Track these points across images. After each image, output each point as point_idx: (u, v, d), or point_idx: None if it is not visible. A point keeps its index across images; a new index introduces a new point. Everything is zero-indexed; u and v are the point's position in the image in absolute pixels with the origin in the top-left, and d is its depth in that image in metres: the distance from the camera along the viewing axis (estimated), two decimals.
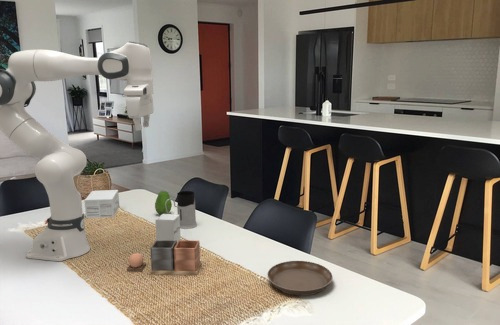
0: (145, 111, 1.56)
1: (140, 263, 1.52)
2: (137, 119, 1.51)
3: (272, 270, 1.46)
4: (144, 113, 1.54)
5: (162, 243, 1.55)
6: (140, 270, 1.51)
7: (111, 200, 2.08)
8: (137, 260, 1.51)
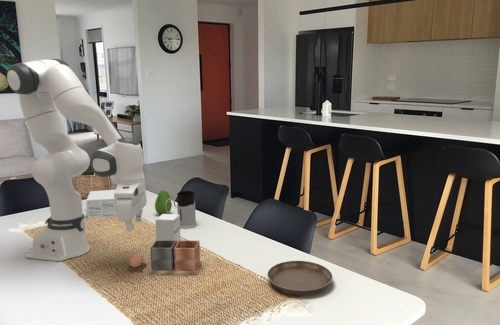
0: (138, 209, 1.48)
1: (140, 263, 1.52)
2: (128, 221, 1.43)
3: (272, 269, 1.46)
4: (136, 212, 1.47)
5: (162, 243, 1.55)
6: (140, 270, 1.51)
7: (114, 199, 2.09)
8: (137, 260, 1.51)
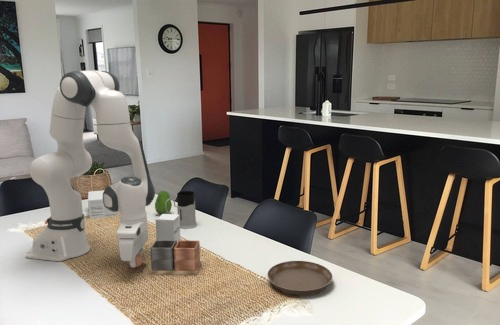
0: (139, 246, 1.51)
1: (140, 263, 1.52)
2: None
3: (272, 270, 1.46)
4: (138, 250, 1.49)
5: (162, 243, 1.55)
6: (140, 270, 1.51)
7: None
8: (137, 260, 1.51)
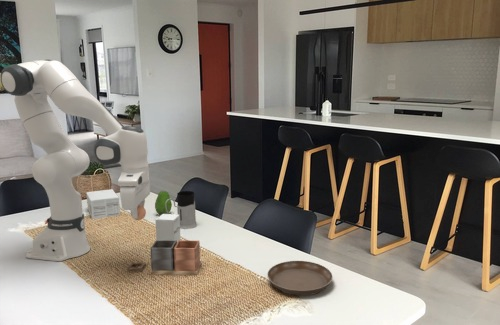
0: (141, 197, 1.47)
1: (142, 215, 1.48)
2: None
3: (272, 270, 1.46)
4: (140, 201, 1.46)
5: (162, 243, 1.55)
6: (140, 270, 1.51)
7: (118, 198, 2.11)
8: (139, 212, 1.47)
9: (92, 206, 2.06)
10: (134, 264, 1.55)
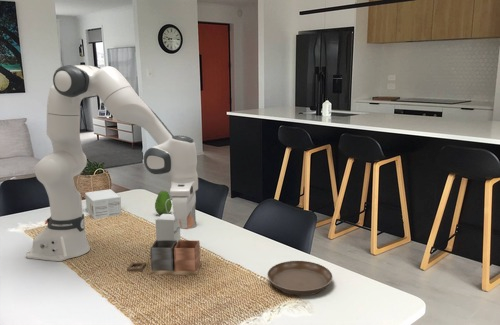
0: (190, 207, 1.48)
1: (191, 224, 1.48)
2: None
3: (272, 269, 1.46)
4: (189, 210, 1.46)
5: (162, 243, 1.55)
6: (140, 270, 1.51)
7: (119, 197, 2.12)
8: (188, 221, 1.47)
9: (94, 206, 2.06)
10: (134, 264, 1.55)
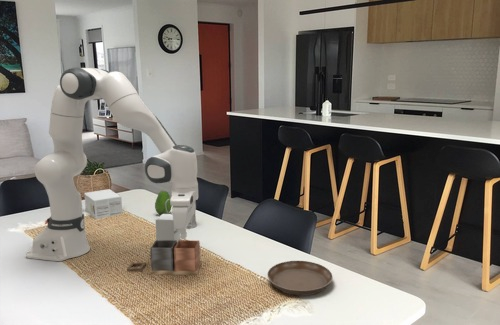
0: (190, 216, 1.48)
1: None
2: (183, 228, 1.43)
3: (272, 269, 1.46)
4: (189, 219, 1.46)
5: (162, 243, 1.55)
6: (140, 270, 1.51)
7: (120, 197, 2.12)
8: None
9: (95, 206, 2.06)
10: (134, 264, 1.55)
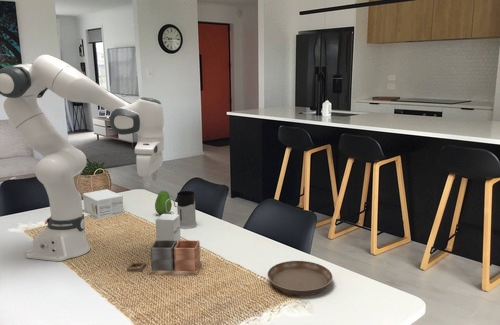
0: (155, 167, 1.54)
1: None
2: (146, 177, 1.49)
3: (272, 269, 1.46)
4: (154, 169, 1.52)
5: (162, 243, 1.55)
6: (140, 270, 1.51)
7: (122, 196, 2.14)
8: None
9: (98, 206, 2.06)
10: (134, 264, 1.55)
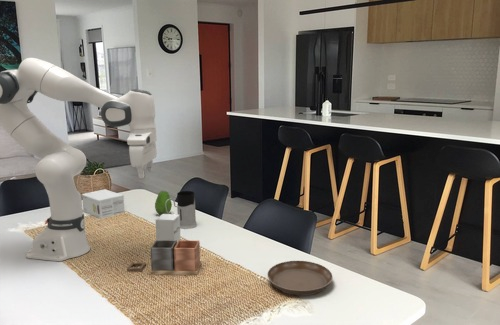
0: (149, 158, 1.55)
1: None
2: (140, 167, 1.50)
3: (272, 269, 1.46)
4: (147, 160, 1.53)
5: (162, 243, 1.55)
6: (140, 270, 1.51)
7: (123, 196, 2.15)
8: None
9: (100, 206, 2.07)
10: (134, 264, 1.55)
